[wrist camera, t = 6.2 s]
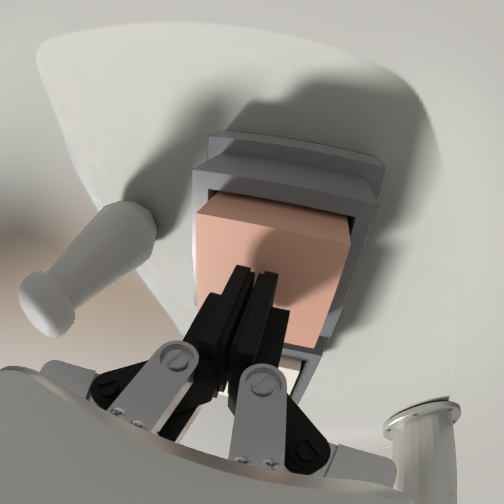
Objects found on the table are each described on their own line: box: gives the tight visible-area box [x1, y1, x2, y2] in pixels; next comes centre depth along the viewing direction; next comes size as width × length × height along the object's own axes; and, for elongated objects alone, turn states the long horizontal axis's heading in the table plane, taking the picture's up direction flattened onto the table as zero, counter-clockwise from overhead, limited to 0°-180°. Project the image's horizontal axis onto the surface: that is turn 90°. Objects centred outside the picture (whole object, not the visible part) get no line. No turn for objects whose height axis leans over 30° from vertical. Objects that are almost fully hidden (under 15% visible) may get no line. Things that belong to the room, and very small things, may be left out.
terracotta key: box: [196, 191, 351, 348], centre depth 13 cm, size 6×6×4 cm
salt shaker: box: [18, 201, 158, 338], centre depth 18 cm, size 6×6×13 cm
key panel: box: [192, 130, 385, 405], centre depth 19 cm, size 20×10×7 cm, turn 174°
